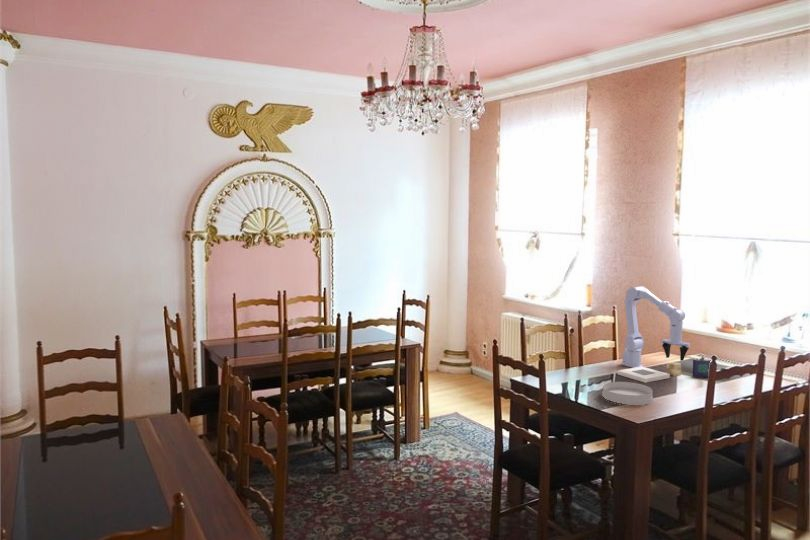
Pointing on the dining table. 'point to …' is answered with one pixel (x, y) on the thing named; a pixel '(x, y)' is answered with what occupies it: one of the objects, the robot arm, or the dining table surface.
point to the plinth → (643, 374)
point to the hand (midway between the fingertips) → (674, 358)
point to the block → (673, 368)
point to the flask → (701, 367)
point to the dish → (627, 393)
